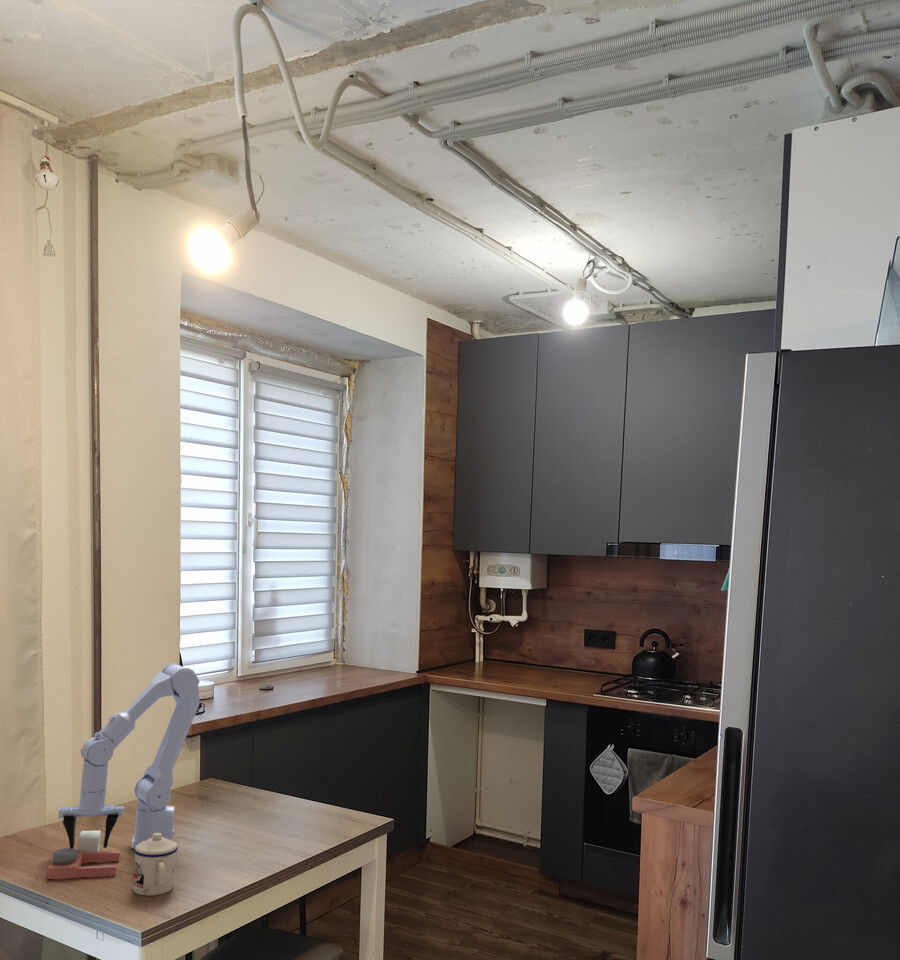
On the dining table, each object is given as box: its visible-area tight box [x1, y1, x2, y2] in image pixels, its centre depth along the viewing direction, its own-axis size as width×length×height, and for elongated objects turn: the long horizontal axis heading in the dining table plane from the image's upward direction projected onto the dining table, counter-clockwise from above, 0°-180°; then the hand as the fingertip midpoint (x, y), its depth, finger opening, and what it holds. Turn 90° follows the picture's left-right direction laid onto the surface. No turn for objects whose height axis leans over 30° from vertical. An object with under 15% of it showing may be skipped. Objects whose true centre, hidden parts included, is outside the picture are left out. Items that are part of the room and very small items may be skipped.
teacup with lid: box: [132, 833, 178, 897], centre depth 189 cm, size 12×9×12 cm
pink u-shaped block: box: [47, 847, 121, 880], centre depth 199 cm, size 14×11×4 cm
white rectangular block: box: [76, 830, 102, 852], centre depth 209 cm, size 4×6×4 cm
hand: (88, 847), depth 209 cm, fingers open, 7 cm apart
